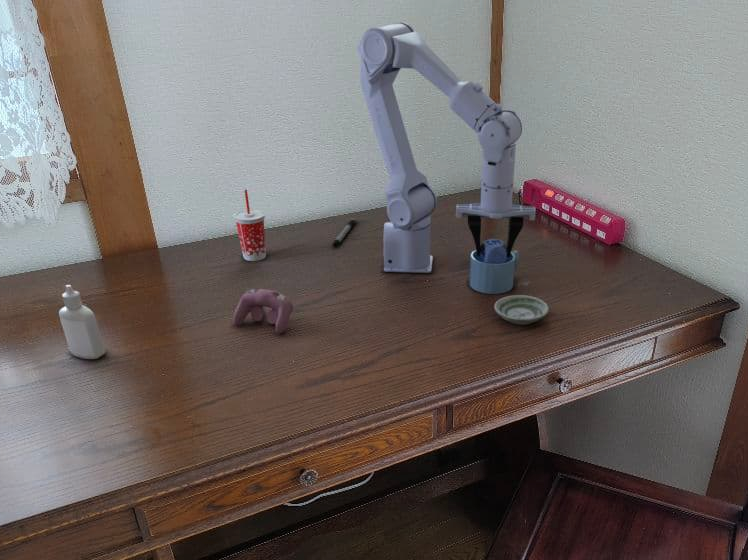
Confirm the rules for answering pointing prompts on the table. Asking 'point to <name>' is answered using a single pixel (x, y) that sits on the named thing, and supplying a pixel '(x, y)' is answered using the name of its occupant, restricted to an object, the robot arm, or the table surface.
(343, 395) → the table surface
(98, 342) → the eye dropper bottle
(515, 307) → the saucer
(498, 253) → the decorative dice
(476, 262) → the mug
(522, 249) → the table surface
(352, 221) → the pen
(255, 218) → the beverage cup
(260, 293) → the video game controller
